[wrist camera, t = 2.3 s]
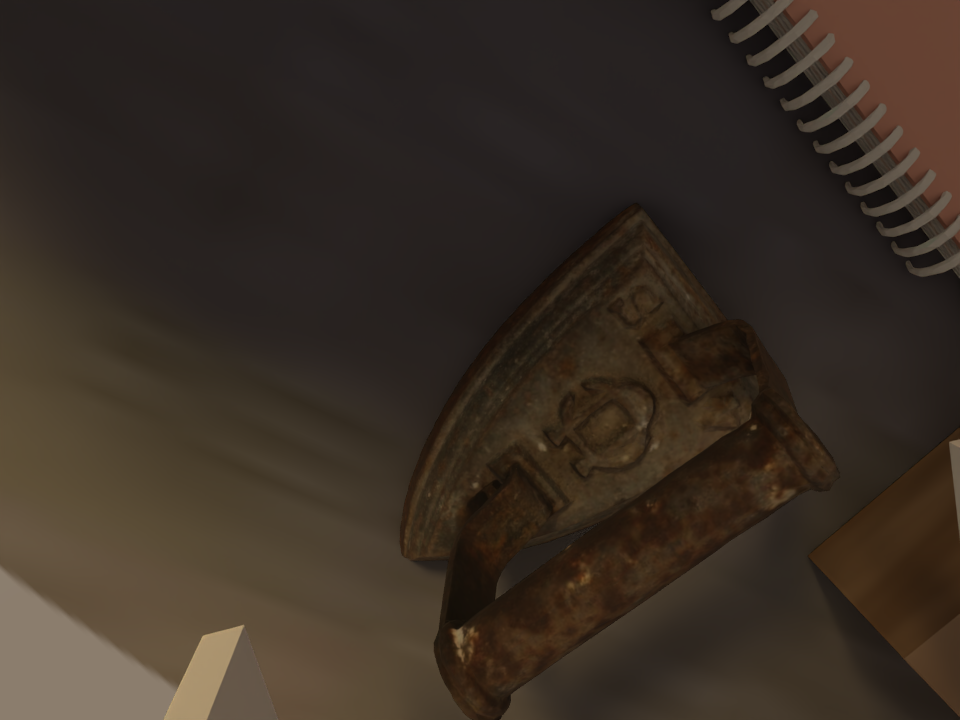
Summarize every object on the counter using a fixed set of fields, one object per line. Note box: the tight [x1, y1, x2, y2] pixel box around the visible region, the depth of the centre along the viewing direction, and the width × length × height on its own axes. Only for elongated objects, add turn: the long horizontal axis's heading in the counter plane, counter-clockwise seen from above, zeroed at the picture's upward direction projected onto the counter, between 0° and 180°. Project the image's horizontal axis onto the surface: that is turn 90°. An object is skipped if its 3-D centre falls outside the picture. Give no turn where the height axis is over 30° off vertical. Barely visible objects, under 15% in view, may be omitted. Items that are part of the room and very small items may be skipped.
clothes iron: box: [400, 203, 840, 720], centre depth 20 cm, size 7×11×10 cm, turn 130°
